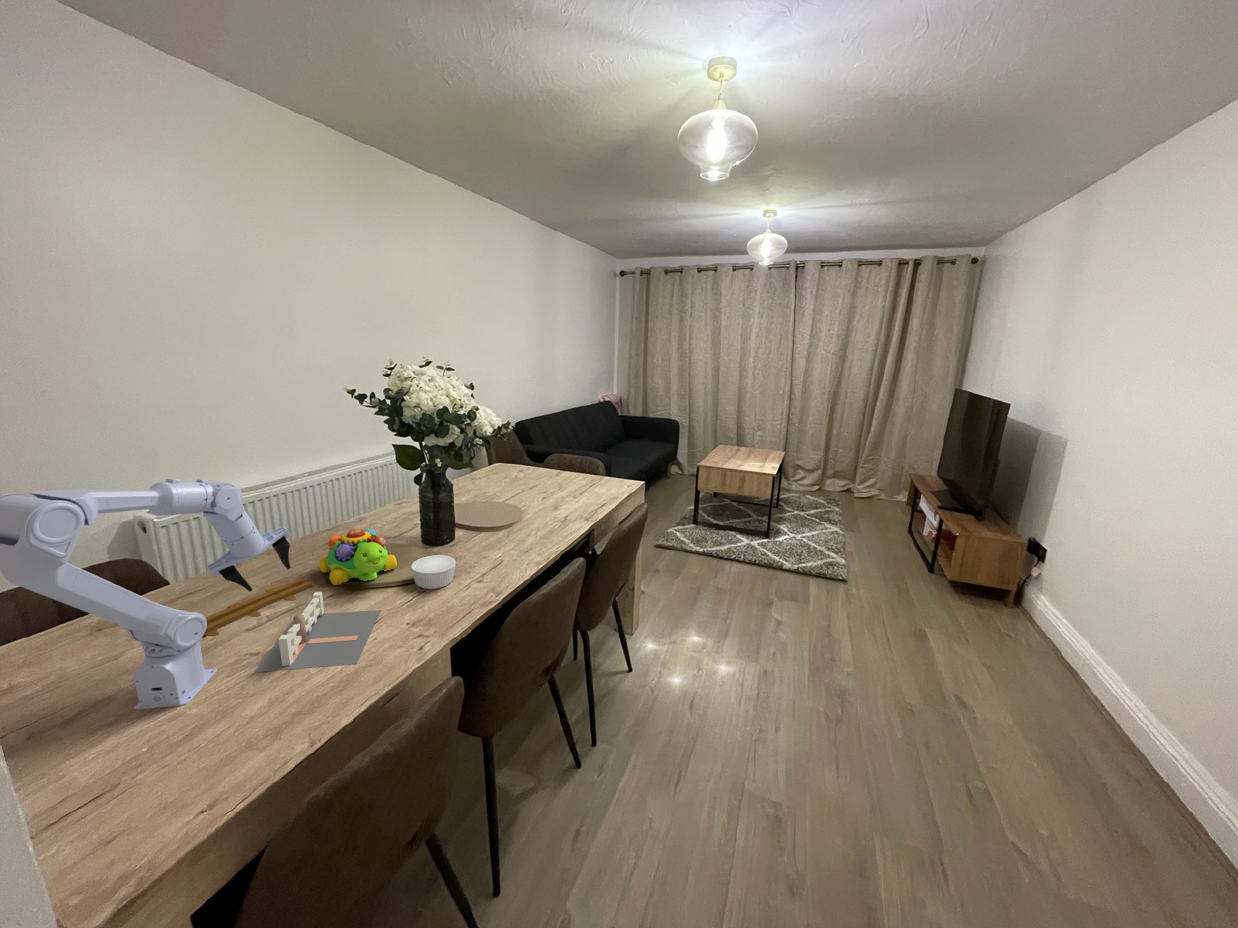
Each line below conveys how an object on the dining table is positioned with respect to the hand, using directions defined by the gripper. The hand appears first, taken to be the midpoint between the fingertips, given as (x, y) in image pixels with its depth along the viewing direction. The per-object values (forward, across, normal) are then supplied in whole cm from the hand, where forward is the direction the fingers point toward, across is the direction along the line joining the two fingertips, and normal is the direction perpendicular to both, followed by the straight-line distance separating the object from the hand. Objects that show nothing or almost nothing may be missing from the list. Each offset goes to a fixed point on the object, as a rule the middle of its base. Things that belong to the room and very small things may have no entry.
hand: (268, 577), depth 106 cm
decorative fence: (+14, +5, -10) cm, 18 cm away
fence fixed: (+8, +4, +15) cm, 18 cm away
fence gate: (+11, -1, +8) cm, 14 cm away
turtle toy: (+22, -18, -8) cm, 29 cm away
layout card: (+11, -1, +14) cm, 18 cm away
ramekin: (+22, -29, +9) cm, 38 cm away
